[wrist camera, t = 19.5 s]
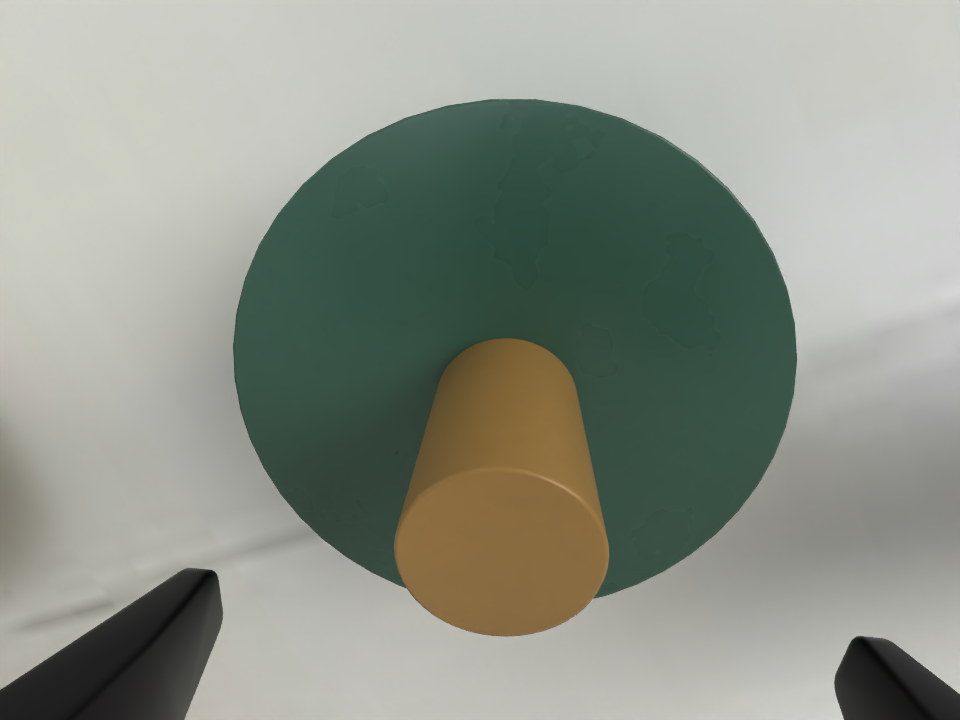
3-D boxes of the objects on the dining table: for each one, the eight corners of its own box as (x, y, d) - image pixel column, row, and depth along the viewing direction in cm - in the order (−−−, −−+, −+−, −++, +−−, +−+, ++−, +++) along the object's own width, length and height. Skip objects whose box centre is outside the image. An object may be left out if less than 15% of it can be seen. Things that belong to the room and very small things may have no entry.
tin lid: (775, 35, 11) (1048, -41, 5) (775, 550, 16) (918, 798, 10) (173, 166, 13) (-106, 213, 7) (338, 597, 17) (252, 832, 12)
